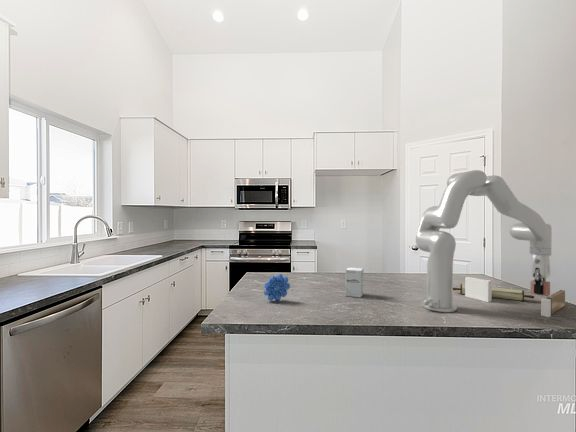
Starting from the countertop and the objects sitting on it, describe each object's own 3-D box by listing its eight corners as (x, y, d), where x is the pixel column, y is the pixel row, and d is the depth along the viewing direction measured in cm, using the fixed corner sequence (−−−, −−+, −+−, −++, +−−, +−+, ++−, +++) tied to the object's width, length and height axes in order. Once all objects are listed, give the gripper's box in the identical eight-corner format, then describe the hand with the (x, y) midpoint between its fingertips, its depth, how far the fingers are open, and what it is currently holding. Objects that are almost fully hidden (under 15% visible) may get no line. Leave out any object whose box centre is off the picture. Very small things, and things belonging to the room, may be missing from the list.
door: (545, 314, 122) (545, 297, 122) (560, 305, 134) (560, 289, 134) (550, 315, 120) (550, 298, 120) (565, 306, 133) (565, 290, 133)
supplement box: (345, 296, 148) (345, 269, 148) (348, 292, 155) (348, 266, 154) (361, 298, 145) (361, 270, 145) (363, 294, 152) (363, 267, 152)
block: (547, 296, 135) (547, 283, 135) (530, 293, 140) (530, 281, 140) (550, 294, 138) (550, 282, 138) (533, 291, 143) (533, 279, 143)
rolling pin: (533, 301, 141) (533, 290, 141) (535, 304, 136) (535, 292, 136) (452, 292, 157) (452, 282, 157) (451, 294, 152) (451, 284, 152)
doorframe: (548, 317, 119) (548, 293, 118) (462, 297, 147) (462, 277, 146) (554, 314, 121) (554, 291, 121) (468, 295, 149) (468, 276, 149)
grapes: (289, 298, 144) (289, 271, 144) (290, 302, 137) (290, 274, 137) (263, 298, 143) (263, 272, 143) (263, 302, 136) (263, 275, 136)
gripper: (546, 254, 131) (546, 298, 131) (555, 250, 141) (555, 291, 142) (524, 252, 136) (524, 294, 136) (534, 249, 147) (534, 288, 147)
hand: (540, 292), depth 139 cm, fingers closed on block, 4 cm apart
